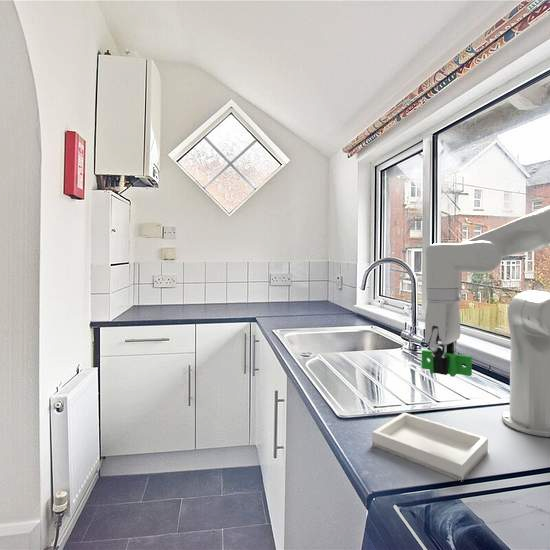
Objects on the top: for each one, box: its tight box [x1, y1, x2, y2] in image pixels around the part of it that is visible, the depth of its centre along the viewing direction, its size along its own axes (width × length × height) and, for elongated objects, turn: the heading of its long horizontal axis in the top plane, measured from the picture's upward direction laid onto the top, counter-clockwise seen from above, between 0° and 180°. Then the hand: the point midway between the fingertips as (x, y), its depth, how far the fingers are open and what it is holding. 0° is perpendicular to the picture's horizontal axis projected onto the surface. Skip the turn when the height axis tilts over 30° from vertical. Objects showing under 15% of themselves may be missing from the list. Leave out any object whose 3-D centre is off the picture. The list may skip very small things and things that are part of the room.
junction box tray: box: [371, 412, 489, 482], centre depth 78 cm, size 14×18×3 cm
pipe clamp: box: [421, 349, 473, 378], centre depth 90 cm, size 11×4×5 cm, turn 49°
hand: (444, 370), depth 90 cm, fingers closed on pipe clamp, 4 cm apart
